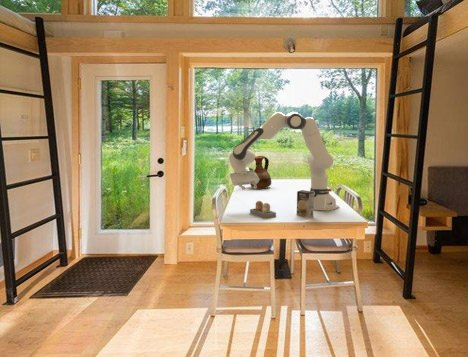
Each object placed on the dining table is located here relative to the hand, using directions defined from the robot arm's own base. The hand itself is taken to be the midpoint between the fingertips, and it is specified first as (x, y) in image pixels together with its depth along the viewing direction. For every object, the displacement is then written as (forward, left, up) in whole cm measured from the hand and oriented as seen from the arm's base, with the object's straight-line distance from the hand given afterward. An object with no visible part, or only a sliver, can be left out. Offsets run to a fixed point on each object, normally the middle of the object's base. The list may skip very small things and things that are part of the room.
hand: (249, 188), depth 240 cm
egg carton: (0, +14, -16) cm, 21 cm away
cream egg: (0, +18, -15) cm, 23 cm away
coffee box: (-22, +29, -16) cm, 40 cm away
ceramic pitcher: (-63, -74, -16) cm, 98 cm away
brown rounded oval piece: (0, +11, -15) cm, 18 cm away
